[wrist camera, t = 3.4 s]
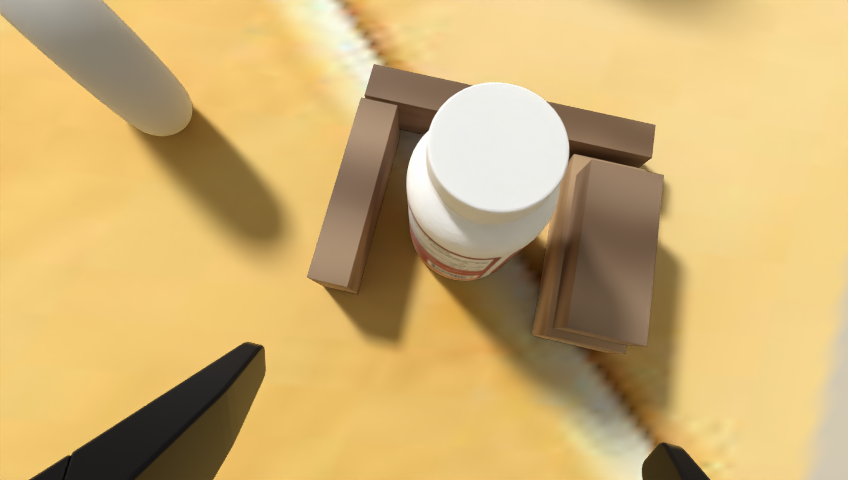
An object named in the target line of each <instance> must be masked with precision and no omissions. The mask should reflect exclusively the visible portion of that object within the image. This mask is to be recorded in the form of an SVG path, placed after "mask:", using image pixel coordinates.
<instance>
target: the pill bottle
mask: <svg viewBox="0 0 848 480" xmlns="http://www.w3.org/2000/svg"><path fill="white" fill-rule="evenodd" d="M568 160H569V141H568V136H567V132H566V129H565V127H564V124H563V122H562V120H561V119H560V117H559V116H558V114H557V113H556V111H555V110H554V109H553V108H552V107H551V106H550V105H549V104H548V103H547V102H546V101H545V100H544V99H543V98H541V97H540V96H539V95H537V94H535V93H533V92H532V91H530V90H528V89H526V88H523V87H520V86H516V85H512V84H507V83H499V82H492V83H482V84H477V85H474V86H471V87H468V88H465V89H463V90H462V91H460V92H458V93H456V94H455V95H453V96H452V97H451V98H449V99H448V100H447V101H446V102H445V103H444V104H443V105H442V106H441V107H440V109H439V110H438V112H437V113H436V115H435V117H434V118H433V120H432V123H431V126H430V129H429V131H428V132H427V133H426V134H425V135H424V136H423V137H422V138H421V140H420V141H419V143H418V144H417V146H416V147H415V149H414V151H413V154H412V156H411V159H410V162H409V166H408V171H407V184H406V186H407V199H408V211H409V224H410V234H411V238H412V242H413V245H414V248H415V250H416V252H417V254H418V255H419V257H420V258H421V259H422V261H423V262H424V263H425V264H426V265H427V266H428V267H429V268H430V269H432V270H433V271H435V272H436V273H438V274H440V275H442V276H444V277H447V278H449V279H454V280H461V281H469V280H476V279H480V278H483V277H485V276H488V275H490V274H491V273H493V272H495V271H496V270H498V269H499V268H500V267H502V266H503V265H504V264H505V263H506V262H507V261H509V260H510V259H511V258H512V257H513V256H514V255H516V254H517V253H518V252H519V251H521V250H522V249H523V248H524V247H526V246H527V245H528V244H529V243H531V242H532V241H533V240H534V239H535V238H536V237H537V236H538V235H539V233H540V232H541V231H542V230H543V229H544V228H545V226H546V225H547V224H548V222H549V220H550V219H551V217H552V215H553V213H554V211H555V208H556V205H557V202H558V198H559V191H560V182H561V181H562V179H563V177H564V175H565V172H566V169H567V166H568Z"/></svg>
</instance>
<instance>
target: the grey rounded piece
mask: <svg viewBox="0 0 848 480" xmlns="http://www.w3.org/2000/svg"><path fill="white" fill-rule="evenodd" d="M0 14H1V15H2V16H3V17H4V18H5V19H6V20H7V21H8V22H9V23H10V24H11V25H13V26H14V27H15V28H16V29H17V30H18V31H19V32H20V33H21V34H22V35H23V36H24V37H26V38H27V39H28V40H29V41H30V42H31V43H32V44H34V45H35V46H36V47H37V48H38V49H39V50H40V51H41V52H43V53H44V54H45V55H46V56H47V57H48V58H49V59H51V60H52V61H53V62H54V63H55V64H56V65H58V66H59V67H60V68H61V69H62V70H63V71H65V72H66V73H67V74H68V75H69V76H71V77H72V78H73V79H74V80H75V81H76V82H78V83H79V84H80V85H81V86H82V87H84V88H85V89H86V90H87V91H89V92H90V93H91V94H92V95H93V96H95V97H96V98H97V99H98V100H100V101H101V102H102V103H103V104H105V105H106V106H107V107H108V108H110V109H111V110H112V111H113V112H115V113H116V114H117V115H119V116H120V117H121V118H123V119H124V120H125V121H127V122H128V123H130V124H131V125H133V126H134V127H136V128H137V129H139V130H141V131H142V132H145V133H148V134H151V135H153V136H169V135H174V134H176V133H178V132H180V131H181V130H183V129H184V128H185V127H186V126H187V125H188V123H189V122H190V119H191V116H192V102H191V99H190V97H189V94H188V93H187V91H186V90H185V88H184V87H183V86H182V84H181V83H180V82H179V81H178V79H177V78H176V77H175V76H174V75H173V73H172V72H171V71H170V70H169V69H168V68H167V66H166V65H165V64H164V63H163V62H162V61H161V60H160V59H159V58H158V57H157V56H156V54H155V53H154V52H153V51H152V50H151V49H150V48H149V47H148V46H147V45H146V44H145V43H144V42H143V41H142V40H141V39H140V38H139V37H138V36H137V35H136V33H135V32H134V31H133V30H132V29H131V28H130V27H129V26H128V25H127V24H126V23H125V22H124V21H123V20H122V19H121V18H120V17H119V16H118V15H117V14H116V13H115V12H114V11H113V10H112V9H111V8H110V7H109V6H108V5H107V4H106V3H104V2H103V1H102V0H0Z"/></svg>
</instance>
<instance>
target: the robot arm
mask: <svg viewBox="0 0 848 480" xmlns="http://www.w3.org/2000/svg"><path fill="white" fill-rule="evenodd" d="M265 371H266V366H265V349H264V347H263V346H262V345H259V344H255V343H251V342H245V343H243V344H241V345H240V346H238V347H236V348H235V349H233V350H232V351H230V352H229V353H227V354H225V355H224V356H222V357H221V358H219V359H218V360H216V361H215V362H213V363H211V364H210V365H208V366H207V367H205V368H204V369H202V370H200V371H199V372H197V373H196V374H194V375H193V376H191V377H190V378H188V379H186V380H185V381H183V382H182V383H180V384H179V385H177V386H175V387H174V388H172V389H171V390H169V391H168V392H166V393H165V394H163V395H161V396H160V397H158V398H157V399H155V400H154V401H152V402H150V403H149V404H147V405H146V406H144V407H143V408H141V409H140V410H138V411H136V412H135V413H133V414H132V415H130V416H129V417H127V418H125V419H124V420H122V421H121V422H119V423H118V424H116V425H115V426H113V427H111V428H110V429H108V430H107V431H105V432H104V433H102V434H100V435H99V436H97V437H96V438H94V439H93V440H91V441H90V442H88V443H86V444H85V445H83V446H82V447H80V448H79V449H77V450H75V451H74V452H73V453H72V455H71V456H70V455H68V456H66V457H64V458H63V459H61V460H60V461H58V462H56V463H55V464H53V465H52V466H50V467H49V468H47V469H45V470H44V471H42V472H41V473H39V474H37V475H36V476H34V477H33V478H31V479H29V480H213V479H214V477H215V475H216V474H217V472H218V470H219V469H220V467H221V465H222V464H223V462H224V460H225V458H226V457H227V455H228V453H229V451H230V450H231V448H232V446H233V444H234V442H235V440H236V438H237V436H238V434H239V432H240V429H241V427H242V425H243V423H244V421H245V418H246V416H247V414H248V412H249V410H250V407H251V405H252V403H253V401H254V399H255V396H256V394H257V392H258V390H259V388H260V385H261V383H262V381H263V379H264V376H265ZM642 478H643V480H710V479H709V478H708V477H707V475H706V474H705V473H704V472H703V471H702V470H701V468H700V467H699V466H698V465H697V464H696V463H695V461H694V460H693V459H692V458H691V457H690V456H689V454H688V453H687V452H686V451H685V450H684V449H683V448H681V447H679V446H676V445H672V444H668V443H660V444H658V445H657V446H656V448H655V449H654V450H653V451H652V452H651V454H650V455H649V456H648V457H647V458H646V459H645V461H644V463H643V466H642Z"/></svg>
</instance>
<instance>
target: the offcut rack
mask: <svg viewBox="0 0 848 480" xmlns="http://www.w3.org/2000/svg"><path fill="white" fill-rule="evenodd" d="M471 86H473V85H468V84H463V83H459V82H454V81H449V80H445V79H440V78H436V77H431V76H426V75H422V74H417V73H412V72H408V71H403V70H398V69H394V68H389V67H385V66H380V65H375V64H374V65H373V69H372V72H371V75H370V79H369V82H368V85H367V89H366V92H365V98H361V100H360V103H359V106H358V109H357V113H356V116H355V119H354V123H353V126H352V129H351V133H350V136H349V139H348V143H347V146H346V149H345V153H344V156H343V159H342V163H341V166H340V169H339V172H338V176H337V179H336V182H335V186H334V189H333V192H332V196H331V199H330V202H329V206H328V209H327V212H326V216H325V219H324V222H323V225H322V229H321V232H320V235H319V239H318V242H317V245H316V249H315V252H314V255H313V259H312V262H311V265H310V269H309V272H308V275H307V278H309V279H311V280H313V281H315V282H317V283H318V284H320V285H322V286H325V287H329V288H333V289H338V290H342V291H346V292H350V293H355V294H357V293H358V290H359V286H360V282H361V279H362V275H363V271H364V267H365V264H366V260H367V256H368V253H369V249H370V245H371V241H372V238H373V234H374V230H375V227H376V223H377V219H378V216H379V212H380V208H381V204H382V201H383V197H384V193H385V190H386V186H387V182H388V178H389V175H390V171H391V167H392V164H393V160H394V156H395V152H396V149H397V145H398V141H399V138H400V133H399V129H402V130H406V131H411V132H415V133H420V134H424V135H425V134H426V133H427V132H428V131H429V129H430V126H431V123H432V120H433V118H434V117H435V115H436V113H437V112H438V110H439V109H440V107H441V106H442V105H443V104H444V103H445V102H446V101H447V100H448V99H449V98H451V97H452V96H453V95H455V94H456V93H458V92H460V91H462V90H463V89H465V88H468V87H471ZM546 102H547V101H546ZM547 103H548V104H549V105H550V106H551V107H552V108H553V109H554V110H555V111H556V113H557V114H558V116H559V117H560V119H561V120H562V122H563V124H564V127H565V129H566V132H567V136H568V141H569V160H568V166H567V169H566V172H565V175H564V177H563V179H562V181H561V182H560V191H559V198H558V202H557V205H556V208H555V211H554V213H553V215H552V217H551V220H550V227H549V233H548V239H547V245H546V251H545V257H544V263H543V269H542V275H541V281H540V287H539V293H538V299H537V305H536V312H535V318H534V324H533V330H532V335H533V336H537V337H541V338H545V339H550V340H554V341H558V342H562V343H567V344H571V345H575V346H579V347H583V348H588V349H592V350H596V351H600V352H608V353H620V354H626V345H628V346H647V340H648V330H649V320H650V309H651V299H652V289H653V279H654V269H655V259H656V249H657V239H658V229H659V219H660V208H661V198H662V188H663V178H664V175H661V174H656V173H652V172H647V171H646V170H645V169H640V168H639V167H640V166H642V165H643V164H644V163H646V162H647V161H648V160H649V159H651V158H652V152H653V143H654V134H655V125H653V124H649V123H644V122H639V121H635V120H630V119H626V118H621V117H616V116H612V115H607V114H602V113H598V112H593V111H588V110H584V109H579V108H575V107H570V106H565V105H561V104H556V103H551V102H547Z"/></svg>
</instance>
